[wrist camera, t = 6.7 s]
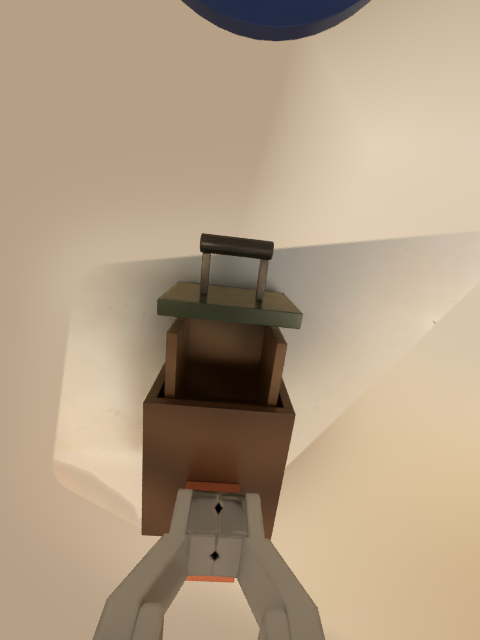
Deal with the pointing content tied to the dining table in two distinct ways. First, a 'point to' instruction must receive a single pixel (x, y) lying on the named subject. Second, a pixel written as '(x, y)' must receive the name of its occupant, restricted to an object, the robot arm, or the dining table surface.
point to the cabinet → (211, 451)
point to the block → (216, 487)
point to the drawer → (227, 332)
